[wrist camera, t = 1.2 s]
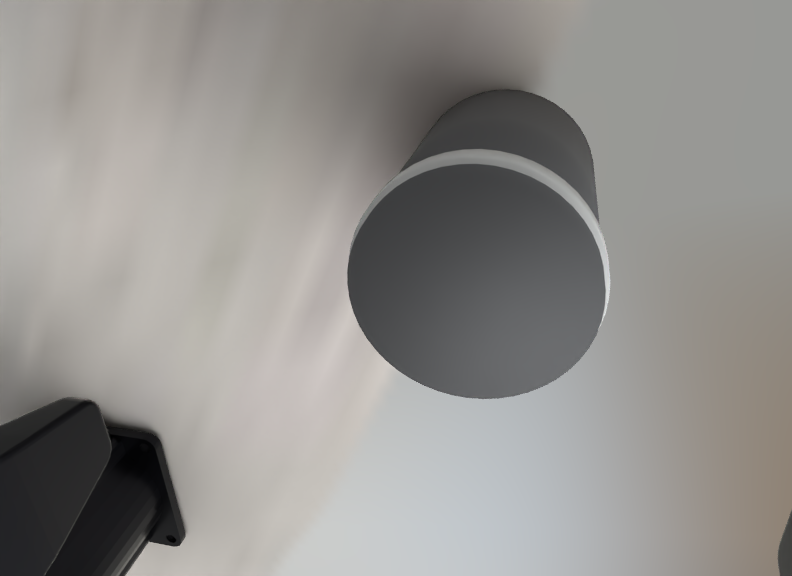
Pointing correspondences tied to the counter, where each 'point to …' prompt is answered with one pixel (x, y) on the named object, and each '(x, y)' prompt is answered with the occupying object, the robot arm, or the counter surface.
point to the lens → (485, 251)
